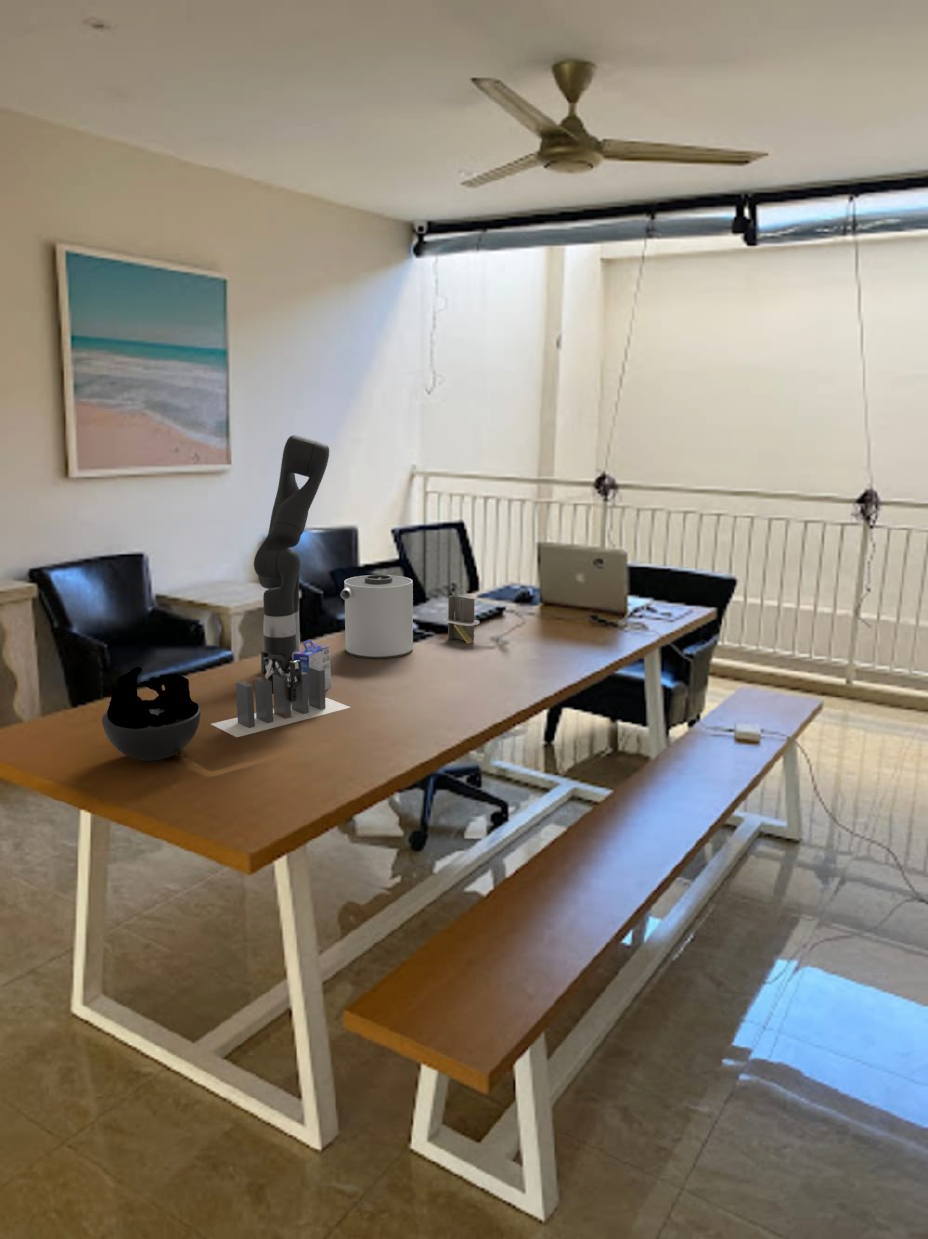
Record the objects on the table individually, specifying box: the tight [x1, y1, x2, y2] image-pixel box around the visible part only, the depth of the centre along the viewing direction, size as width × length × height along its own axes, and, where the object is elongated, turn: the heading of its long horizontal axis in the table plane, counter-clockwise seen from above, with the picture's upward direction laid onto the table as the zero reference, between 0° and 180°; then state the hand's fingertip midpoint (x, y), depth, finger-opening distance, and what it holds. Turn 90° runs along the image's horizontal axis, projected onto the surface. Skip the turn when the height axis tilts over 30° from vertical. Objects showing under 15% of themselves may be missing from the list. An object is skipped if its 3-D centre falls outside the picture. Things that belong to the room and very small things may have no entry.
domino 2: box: [254, 676, 274, 723], centre depth 216 cm, size 2×5×10 cm, turn 44°
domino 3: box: [272, 673, 292, 718], centre depth 220 cm, size 2×5×10 cm, turn 44°
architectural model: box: [442, 595, 480, 644], centre depth 297 cm, size 20×25×15 cm
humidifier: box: [340, 574, 414, 660], centre depth 283 cm, size 22×21×23 cm
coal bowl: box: [101, 666, 202, 762], centre depth 194 cm, size 20×20×19 cm
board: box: [210, 696, 351, 738], centre depth 221 cm, size 12×32×1 cm, turn 133°
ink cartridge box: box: [293, 638, 332, 698], centre depth 239 cm, size 10×6×14 cm, turn 155°
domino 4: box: [291, 672, 309, 714], centre depth 223 cm, size 2×5×10 cm, turn 43°
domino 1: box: [235, 680, 255, 728], centre depth 213 cm, size 2×5×10 cm, turn 44°
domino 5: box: [308, 666, 326, 710], centre depth 226 cm, size 2×5×10 cm, turn 43°
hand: (282, 697), depth 220 cm, fingers open, 8 cm apart
